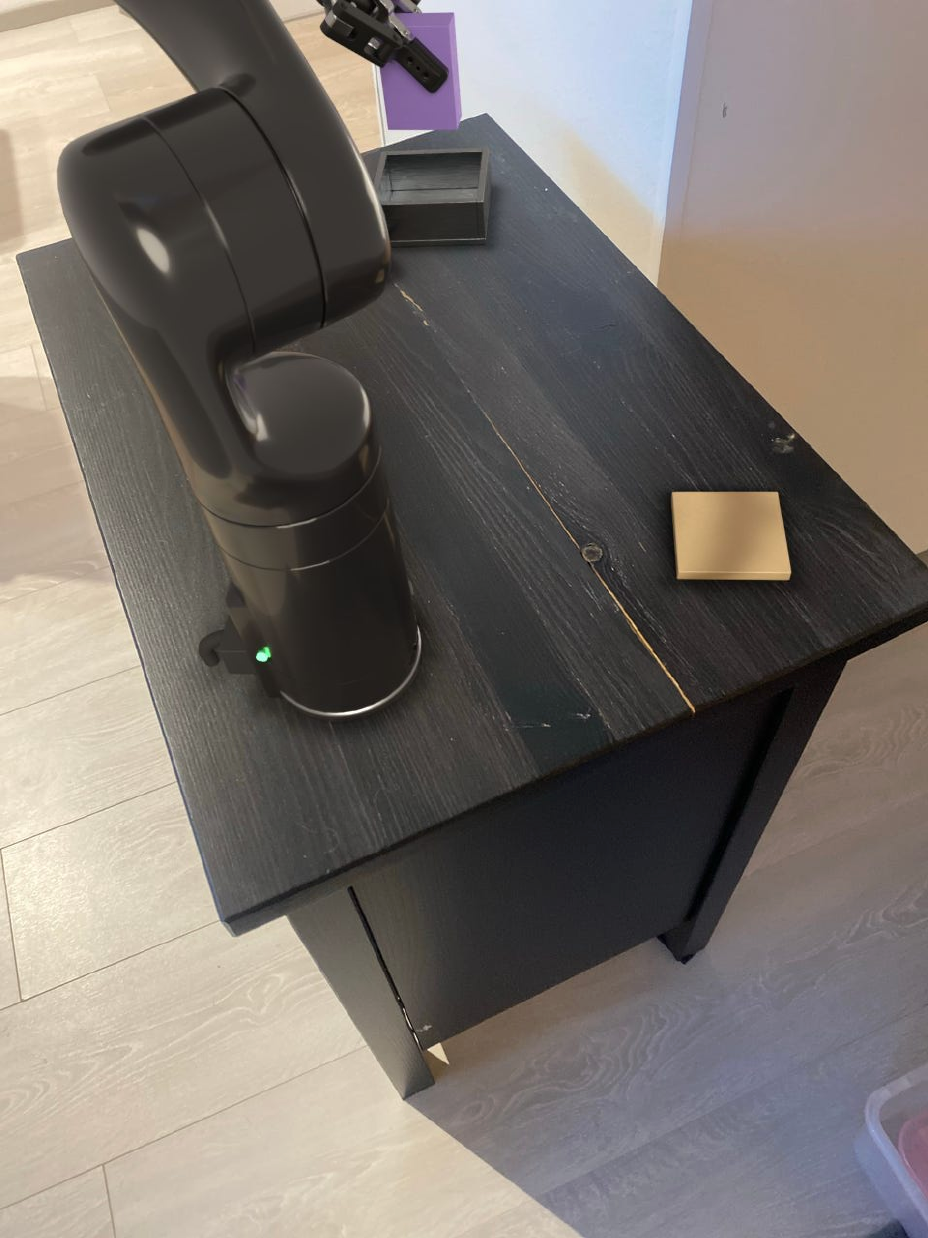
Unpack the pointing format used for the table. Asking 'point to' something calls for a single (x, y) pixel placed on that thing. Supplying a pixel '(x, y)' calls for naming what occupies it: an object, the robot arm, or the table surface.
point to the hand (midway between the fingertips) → (444, 73)
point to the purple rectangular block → (406, 95)
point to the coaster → (729, 536)
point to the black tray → (435, 196)
